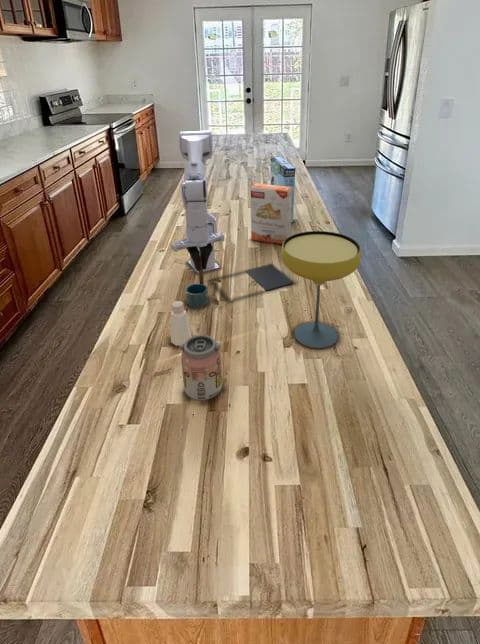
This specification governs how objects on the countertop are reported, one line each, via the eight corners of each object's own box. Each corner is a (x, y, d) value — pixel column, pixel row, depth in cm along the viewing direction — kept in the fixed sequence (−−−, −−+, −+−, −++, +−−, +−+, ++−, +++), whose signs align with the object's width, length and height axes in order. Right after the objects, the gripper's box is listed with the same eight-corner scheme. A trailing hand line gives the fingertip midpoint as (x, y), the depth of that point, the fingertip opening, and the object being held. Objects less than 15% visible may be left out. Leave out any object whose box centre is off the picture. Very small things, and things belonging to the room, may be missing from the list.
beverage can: (187, 372, 99) (183, 328, 94) (224, 372, 99) (222, 328, 93) (181, 402, 91) (175, 356, 85) (221, 403, 90) (218, 357, 85)
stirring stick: (198, 282, 124) (196, 254, 121) (203, 281, 125) (201, 253, 121) (200, 284, 123) (198, 256, 120) (204, 283, 124) (202, 255, 120)
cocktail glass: (364, 353, 103) (375, 259, 93) (290, 362, 101) (293, 267, 90) (337, 311, 120) (344, 227, 109) (273, 319, 117) (273, 233, 106)
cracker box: (250, 240, 164) (249, 187, 155) (256, 234, 169) (255, 182, 160) (286, 245, 159) (287, 190, 150) (291, 239, 164) (292, 185, 155)
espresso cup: (183, 300, 127) (182, 286, 125) (203, 294, 129) (202, 281, 127) (191, 310, 122) (189, 296, 120) (211, 304, 124) (210, 291, 122)
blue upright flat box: (269, 208, 196) (269, 157, 186) (280, 206, 197) (281, 156, 187) (282, 223, 179) (283, 168, 169) (294, 222, 180) (295, 167, 170)
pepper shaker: (168, 337, 111) (163, 300, 106) (188, 332, 113) (185, 295, 108) (173, 349, 106) (169, 311, 102) (194, 343, 108) (191, 306, 103)
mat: (210, 280, 137) (210, 279, 137) (271, 265, 145) (271, 264, 145) (228, 301, 126) (228, 300, 125) (293, 283, 134) (293, 282, 134)
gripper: (175, 234, 110) (180, 281, 116) (228, 223, 116) (230, 268, 122) (167, 225, 116) (172, 270, 122) (217, 215, 122) (220, 258, 127)
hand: (200, 268), depth 122 cm, fingers closed on stirring stick, 1 cm apart
